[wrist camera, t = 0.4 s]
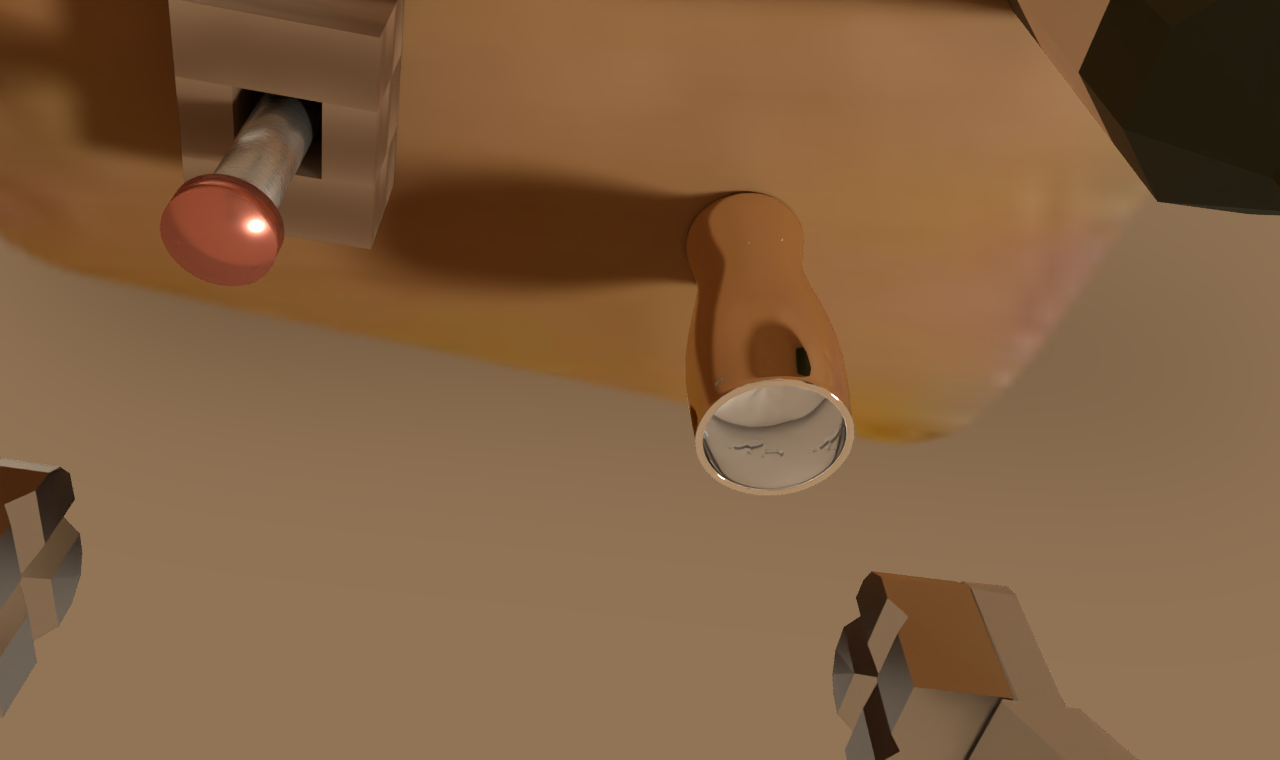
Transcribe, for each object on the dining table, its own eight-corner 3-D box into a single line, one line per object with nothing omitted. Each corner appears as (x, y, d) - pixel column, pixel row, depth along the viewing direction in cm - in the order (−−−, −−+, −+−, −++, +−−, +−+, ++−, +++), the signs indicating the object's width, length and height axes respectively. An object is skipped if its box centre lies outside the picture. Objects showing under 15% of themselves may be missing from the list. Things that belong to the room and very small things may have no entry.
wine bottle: (1086, -227, 41) (1682, 122, 18) (1229, -110, 43) (1905, 325, 20) (942, -39, 45) (1265, 434, 22) (1079, 57, 48) (1493, 565, 25)
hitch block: (215, -53, 45) (168, -2, 40) (405, -16, 46) (379, 37, 41) (227, 155, 51) (187, 220, 46) (393, 183, 52) (370, 249, 47)
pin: (266, 24, 47) (155, 181, 36) (356, 41, 47) (274, 201, 36) (268, 106, 49) (165, 276, 38) (354, 121, 50) (277, 293, 39)
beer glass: (819, 284, 56) (867, 485, 44) (692, 308, 57) (707, 511, 45) (802, 170, 52) (851, 361, 40) (664, 199, 53) (673, 393, 41)
